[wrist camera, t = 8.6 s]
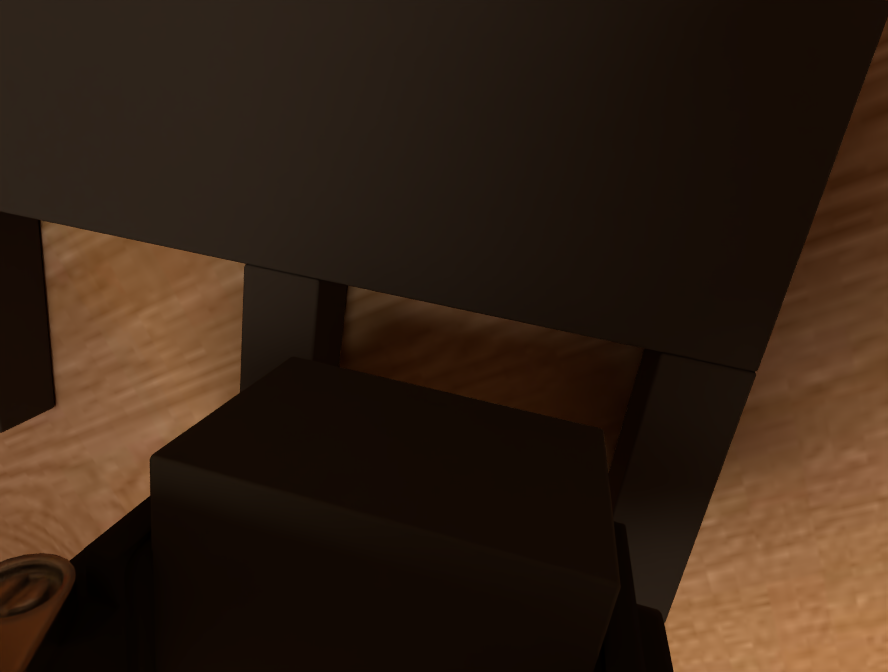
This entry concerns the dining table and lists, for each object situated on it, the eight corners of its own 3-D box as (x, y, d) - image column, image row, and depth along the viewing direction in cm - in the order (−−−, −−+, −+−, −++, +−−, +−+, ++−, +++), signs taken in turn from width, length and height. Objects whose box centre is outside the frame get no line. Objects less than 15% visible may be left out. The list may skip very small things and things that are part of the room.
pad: (604, 427, 10) (622, 586, 6) (535, 676, 12) (518, 909, 8) (292, 354, 11) (146, 455, 7) (275, 596, 13) (153, 774, 9)
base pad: (844, 24, 12) (895, 0, 10) (655, 571, 16) (664, 625, 14) (-50, -80, 15) (-139, -113, 13) (6, 394, 20) (-54, 419, 18)
